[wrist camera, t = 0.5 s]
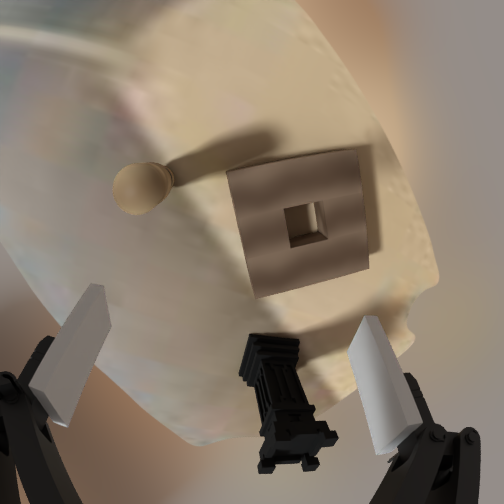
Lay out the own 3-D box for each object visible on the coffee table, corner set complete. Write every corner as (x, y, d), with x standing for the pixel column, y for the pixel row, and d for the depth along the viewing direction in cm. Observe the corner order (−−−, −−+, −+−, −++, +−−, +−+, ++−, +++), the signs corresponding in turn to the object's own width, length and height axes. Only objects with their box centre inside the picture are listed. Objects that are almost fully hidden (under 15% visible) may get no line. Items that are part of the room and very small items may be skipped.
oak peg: (142, 167, 35) (107, 172, 22) (175, 157, 35) (154, 156, 23) (150, 200, 36) (120, 220, 24) (182, 191, 36) (167, 207, 24)
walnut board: (225, 171, 36) (226, 172, 32) (343, 149, 37) (356, 149, 33) (251, 286, 41) (255, 298, 38) (356, 259, 42) (369, 268, 38)
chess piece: (284, 376, 47) (316, 471, 28) (238, 373, 46) (254, 475, 27) (298, 339, 45) (343, 435, 26) (249, 333, 44) (273, 438, 25)
